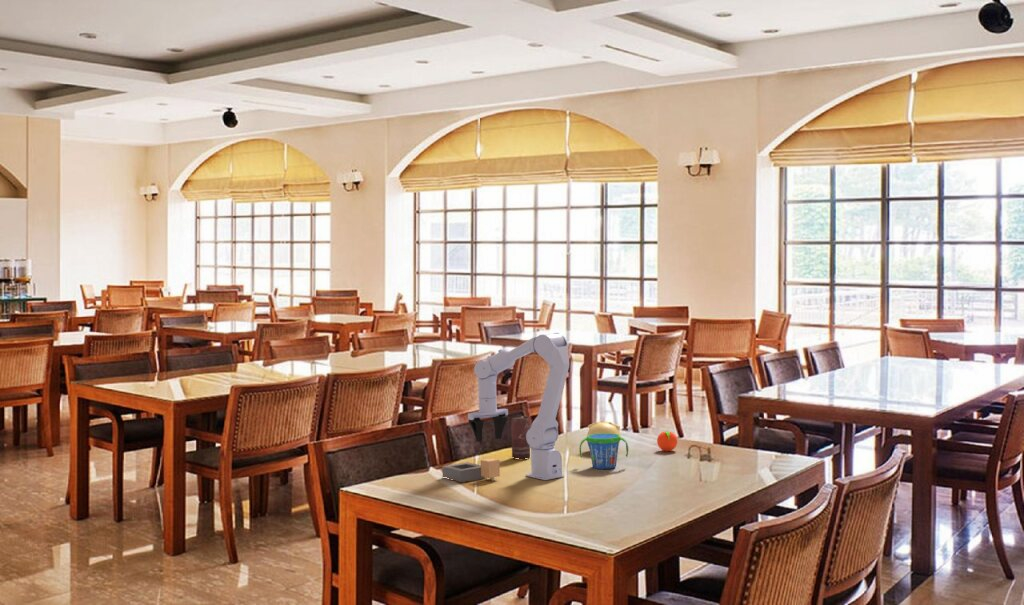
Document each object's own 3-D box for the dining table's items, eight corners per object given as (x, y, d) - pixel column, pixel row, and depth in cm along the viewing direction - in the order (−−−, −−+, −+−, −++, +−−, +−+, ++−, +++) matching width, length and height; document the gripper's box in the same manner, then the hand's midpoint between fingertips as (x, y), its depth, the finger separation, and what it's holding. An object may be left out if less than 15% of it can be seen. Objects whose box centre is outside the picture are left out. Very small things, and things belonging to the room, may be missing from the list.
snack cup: (577, 470, 312) (577, 438, 312) (582, 463, 322) (581, 432, 322) (627, 471, 309) (626, 438, 309) (630, 464, 319) (629, 433, 319)
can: (530, 456, 337) (530, 415, 337) (529, 460, 331) (528, 418, 330) (513, 456, 338) (512, 415, 337) (511, 460, 331) (510, 418, 331)
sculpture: (622, 449, 348) (621, 418, 347) (618, 455, 336) (617, 423, 336) (590, 448, 350) (589, 418, 350) (584, 454, 339) (584, 423, 338)
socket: (486, 478, 303) (486, 466, 303) (460, 482, 297) (460, 470, 297) (467, 473, 310) (467, 462, 310) (442, 478, 304) (442, 466, 304)
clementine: (679, 453, 337) (679, 432, 337) (659, 453, 337) (658, 432, 337) (675, 449, 345) (675, 428, 345) (656, 449, 345) (655, 429, 345)
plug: (499, 480, 299) (499, 459, 299) (489, 482, 297) (488, 461, 297) (491, 478, 303) (491, 458, 302) (481, 480, 300) (480, 459, 300)
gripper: (498, 394, 322) (499, 436, 322) (461, 398, 313) (462, 441, 313) (511, 396, 316) (512, 438, 316) (474, 400, 307) (475, 444, 308)
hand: (488, 440), depth 314 cm, fingers open, 7 cm apart
